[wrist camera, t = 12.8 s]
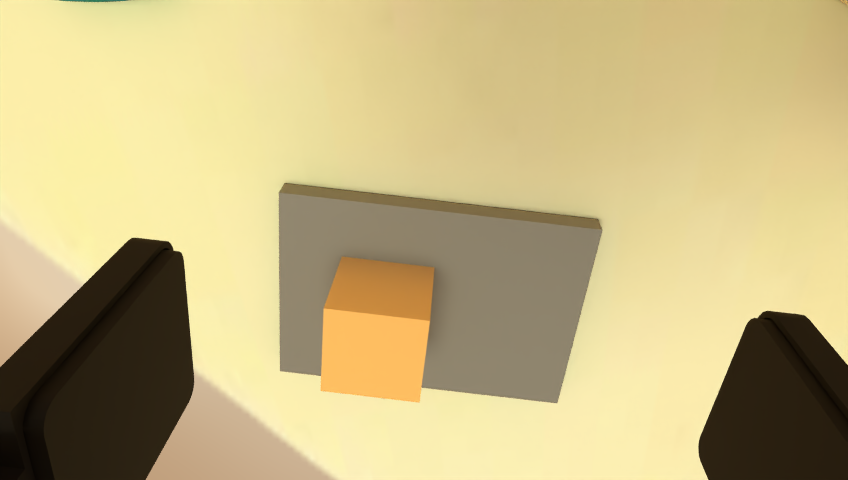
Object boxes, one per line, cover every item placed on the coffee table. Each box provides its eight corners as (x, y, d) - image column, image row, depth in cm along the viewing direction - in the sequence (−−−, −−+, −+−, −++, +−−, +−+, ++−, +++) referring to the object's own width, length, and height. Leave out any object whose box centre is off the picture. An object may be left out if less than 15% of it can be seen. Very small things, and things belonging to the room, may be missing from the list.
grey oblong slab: (597, 219, 40) (602, 229, 39) (554, 389, 47) (557, 403, 45) (284, 183, 40) (278, 192, 39) (285, 357, 47) (280, 371, 46)
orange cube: (434, 267, 41) (429, 320, 36) (424, 342, 44) (419, 402, 38) (341, 256, 41) (323, 308, 36) (338, 332, 44) (320, 390, 38)
